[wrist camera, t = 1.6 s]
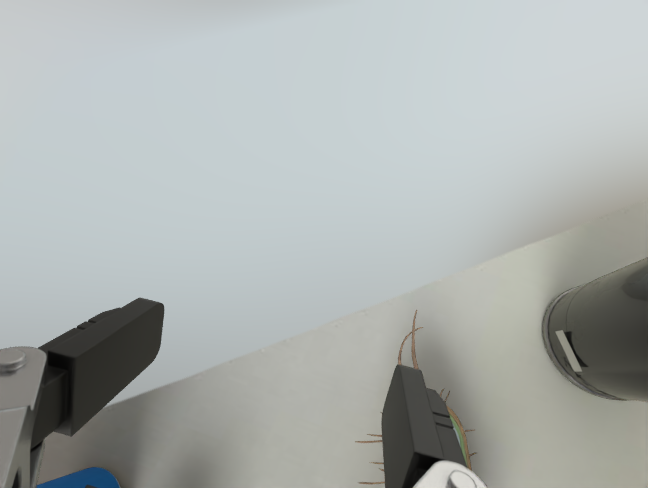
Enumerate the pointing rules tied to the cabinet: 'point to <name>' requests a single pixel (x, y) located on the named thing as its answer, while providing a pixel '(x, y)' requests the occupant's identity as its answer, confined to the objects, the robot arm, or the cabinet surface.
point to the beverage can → (84, 479)
